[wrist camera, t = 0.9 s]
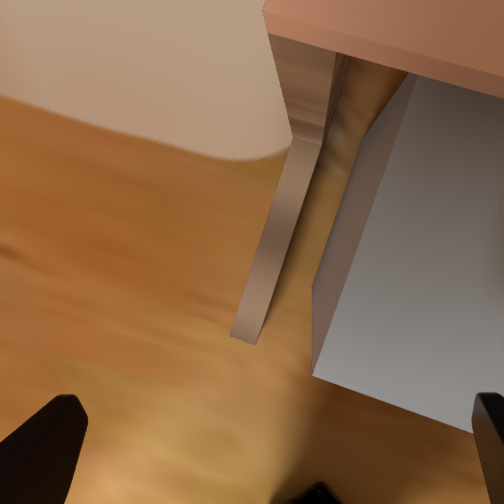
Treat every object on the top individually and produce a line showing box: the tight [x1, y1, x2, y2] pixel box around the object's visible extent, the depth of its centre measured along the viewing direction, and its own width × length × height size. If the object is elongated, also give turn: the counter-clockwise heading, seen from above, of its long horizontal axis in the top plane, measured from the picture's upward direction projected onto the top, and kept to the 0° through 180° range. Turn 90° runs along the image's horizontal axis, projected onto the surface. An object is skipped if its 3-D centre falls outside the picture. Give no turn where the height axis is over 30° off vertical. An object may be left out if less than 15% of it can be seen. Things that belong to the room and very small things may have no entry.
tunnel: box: [230, 0, 504, 345], centre depth 16 cm, size 15×18×17 cm
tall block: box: [312, 72, 504, 433], centre depth 17 cm, size 9×11×14 cm
